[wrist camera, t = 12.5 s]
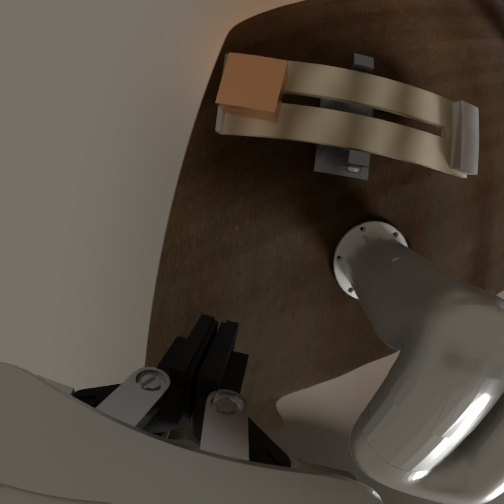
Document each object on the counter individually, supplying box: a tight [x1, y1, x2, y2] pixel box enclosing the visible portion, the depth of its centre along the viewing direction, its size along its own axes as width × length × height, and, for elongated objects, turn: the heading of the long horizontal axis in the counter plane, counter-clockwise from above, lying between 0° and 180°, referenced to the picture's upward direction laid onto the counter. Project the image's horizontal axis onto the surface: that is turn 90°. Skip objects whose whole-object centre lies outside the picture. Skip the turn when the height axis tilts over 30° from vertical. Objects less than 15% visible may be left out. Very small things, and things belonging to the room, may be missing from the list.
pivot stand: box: [314, 53, 374, 180], centre depth 31 cm, size 8×16×10 cm, turn 175°
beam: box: [215, 53, 479, 178], centre depth 27 cm, size 32×10×4 cm, turn 85°
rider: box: [215, 52, 288, 123], centre depth 26 cm, size 6×6×6 cm
